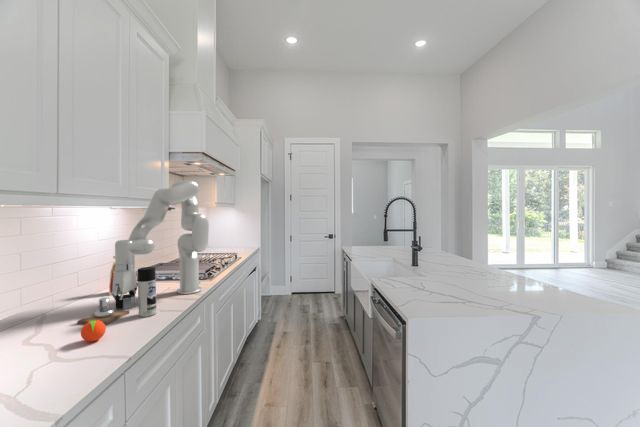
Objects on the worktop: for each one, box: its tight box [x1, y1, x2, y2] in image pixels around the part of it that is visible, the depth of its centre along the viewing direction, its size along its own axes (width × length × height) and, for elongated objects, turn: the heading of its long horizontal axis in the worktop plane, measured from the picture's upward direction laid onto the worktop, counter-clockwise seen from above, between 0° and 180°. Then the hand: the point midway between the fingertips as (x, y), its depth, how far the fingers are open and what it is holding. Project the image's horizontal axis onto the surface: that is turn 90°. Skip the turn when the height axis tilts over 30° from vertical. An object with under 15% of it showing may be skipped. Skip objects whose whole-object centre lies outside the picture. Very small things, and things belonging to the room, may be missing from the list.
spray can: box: [137, 266, 157, 318], centre depth 131 cm, size 7×7×20 cm
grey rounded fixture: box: [94, 297, 115, 318], centre depth 127 cm, size 7×7×7 cm
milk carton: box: [108, 255, 129, 297], centre depth 166 cm, size 9×9×20 cm
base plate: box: [76, 309, 130, 326], centre depth 127 cm, size 13×12×1 cm
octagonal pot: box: [115, 293, 137, 311], centre depth 141 cm, size 7×7×5 cm
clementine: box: [80, 320, 107, 343], centre depth 105 cm, size 8×7×7 cm
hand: (125, 305), depth 141 cm, fingers closed on octagonal pot, 7 cm apart
